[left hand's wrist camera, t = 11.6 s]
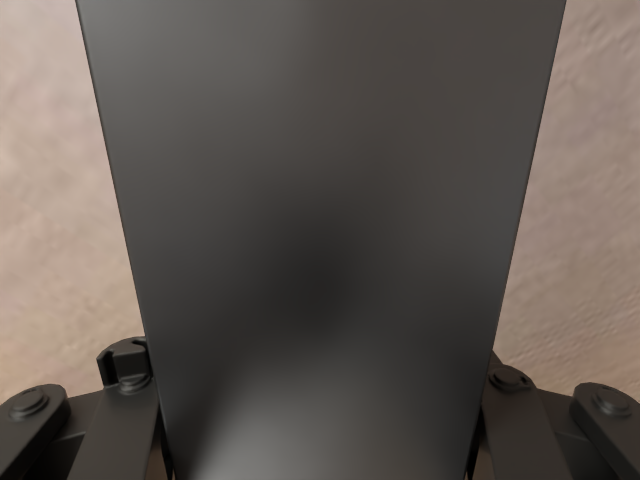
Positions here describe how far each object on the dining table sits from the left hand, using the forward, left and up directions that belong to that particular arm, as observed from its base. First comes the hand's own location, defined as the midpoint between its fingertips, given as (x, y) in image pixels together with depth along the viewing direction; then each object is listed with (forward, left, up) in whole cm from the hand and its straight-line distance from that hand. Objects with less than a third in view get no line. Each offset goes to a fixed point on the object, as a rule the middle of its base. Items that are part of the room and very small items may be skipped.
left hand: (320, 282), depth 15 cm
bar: (+4, +11, -1) cm, 12 cm away
